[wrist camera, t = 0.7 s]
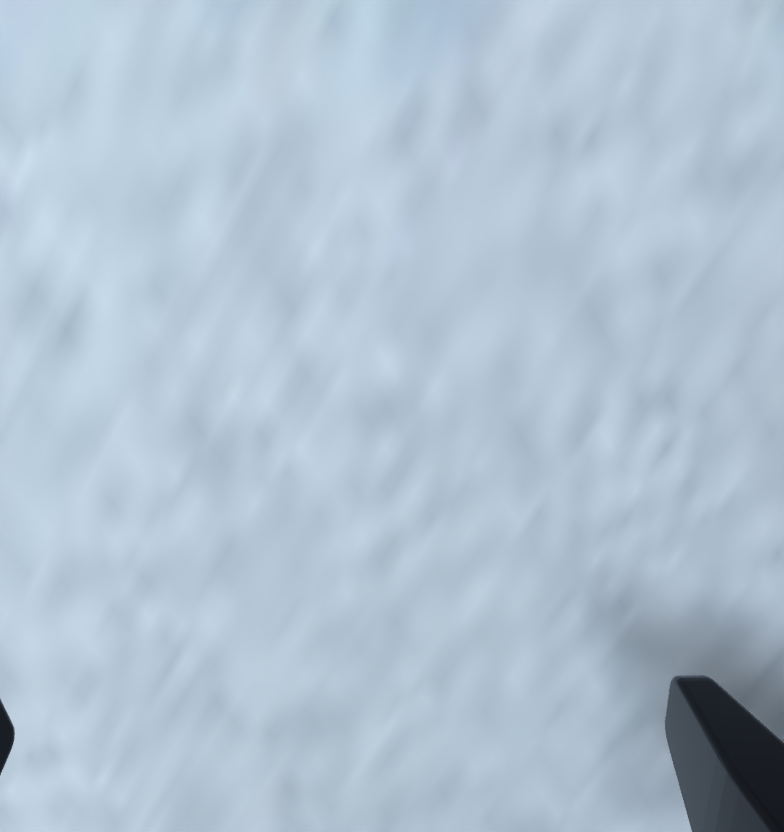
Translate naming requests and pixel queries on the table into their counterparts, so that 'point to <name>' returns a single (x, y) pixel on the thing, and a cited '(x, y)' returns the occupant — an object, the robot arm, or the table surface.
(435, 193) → the table surface
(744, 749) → the robot arm
